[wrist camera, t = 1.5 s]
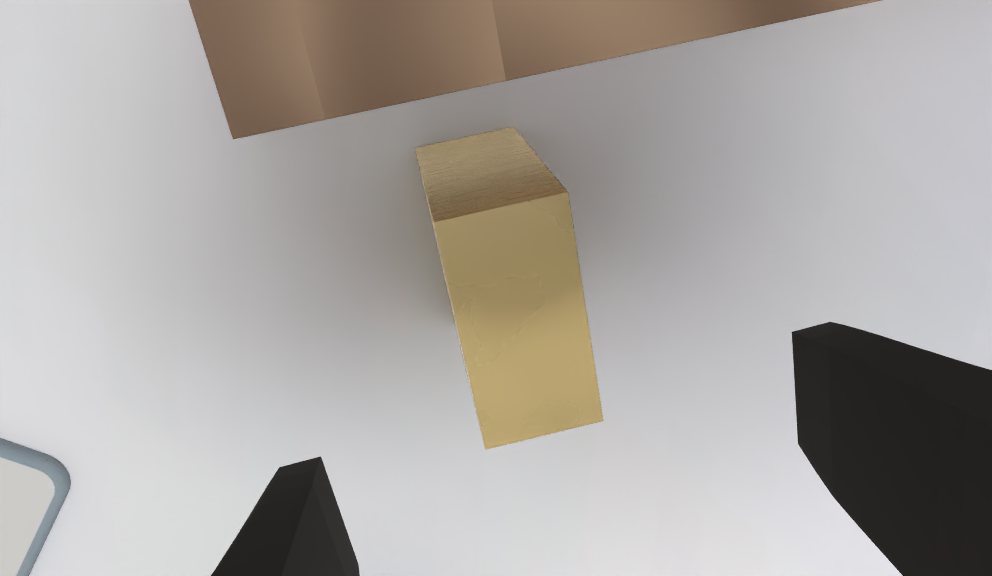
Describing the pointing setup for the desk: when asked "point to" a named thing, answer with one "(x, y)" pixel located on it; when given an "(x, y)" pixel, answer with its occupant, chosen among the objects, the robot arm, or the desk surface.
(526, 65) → the notched board
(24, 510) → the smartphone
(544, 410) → the brass tab
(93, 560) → the desk surface
